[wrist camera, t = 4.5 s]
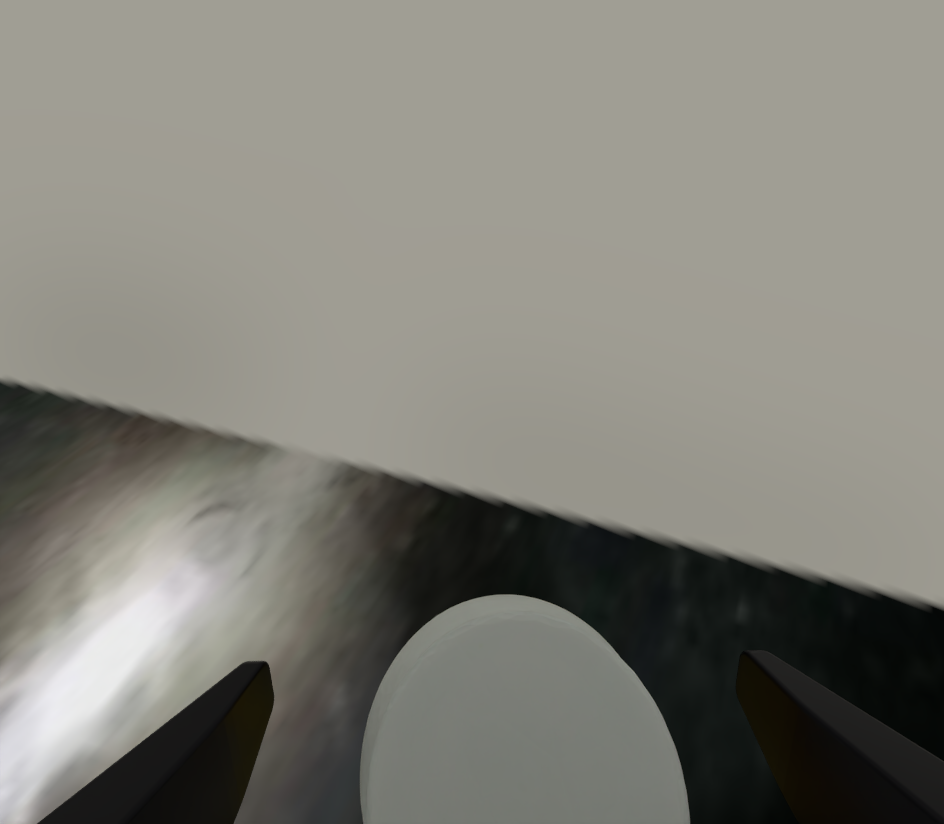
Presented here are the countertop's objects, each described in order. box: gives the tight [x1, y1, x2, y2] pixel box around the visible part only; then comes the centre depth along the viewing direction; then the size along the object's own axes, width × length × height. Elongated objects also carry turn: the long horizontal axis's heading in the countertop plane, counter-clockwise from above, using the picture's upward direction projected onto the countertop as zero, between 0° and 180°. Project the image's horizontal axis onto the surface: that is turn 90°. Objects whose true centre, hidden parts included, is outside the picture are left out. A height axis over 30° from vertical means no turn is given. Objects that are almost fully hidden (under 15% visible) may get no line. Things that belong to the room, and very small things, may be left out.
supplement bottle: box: [360, 594, 690, 824], centre depth 10 cm, size 5×5×10 cm
